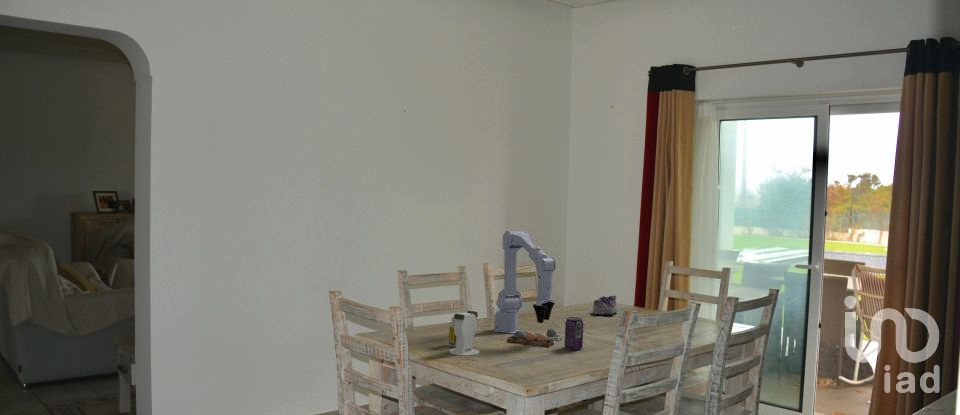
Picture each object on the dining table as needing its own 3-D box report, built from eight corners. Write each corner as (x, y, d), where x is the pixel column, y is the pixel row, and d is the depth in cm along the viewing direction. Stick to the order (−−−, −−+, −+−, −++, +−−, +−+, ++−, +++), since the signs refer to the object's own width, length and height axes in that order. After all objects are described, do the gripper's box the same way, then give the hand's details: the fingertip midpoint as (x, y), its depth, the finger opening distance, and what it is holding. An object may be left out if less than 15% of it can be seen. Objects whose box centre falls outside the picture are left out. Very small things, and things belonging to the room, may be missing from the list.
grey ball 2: (545, 338, 315) (545, 328, 315) (548, 336, 319) (548, 327, 319) (554, 339, 314) (554, 329, 314) (557, 337, 317) (557, 328, 317)
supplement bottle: (460, 343, 301) (461, 315, 301) (467, 347, 296) (468, 318, 295) (446, 344, 298) (447, 316, 298) (453, 348, 293) (454, 319, 292)
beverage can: (584, 347, 302) (585, 317, 302) (580, 351, 296) (581, 320, 295) (566, 345, 305) (567, 316, 304) (562, 349, 298) (563, 318, 298)
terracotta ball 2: (535, 343, 304) (536, 333, 304) (539, 341, 308) (539, 332, 308) (545, 344, 303) (545, 334, 302) (548, 343, 306) (548, 333, 306)
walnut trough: (506, 341, 308) (507, 338, 308) (512, 339, 314) (512, 335, 313) (549, 347, 301) (549, 343, 301) (553, 344, 306) (554, 340, 306)
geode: (597, 309, 397) (601, 291, 397) (619, 315, 393) (622, 296, 393) (588, 314, 378) (592, 294, 378) (611, 319, 374) (615, 299, 374)
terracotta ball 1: (524, 342, 306) (524, 332, 306) (527, 340, 310) (527, 330, 310) (533, 343, 305) (533, 333, 304) (536, 341, 308) (537, 331, 308)
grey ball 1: (512, 340, 308) (512, 330, 308) (515, 339, 312) (516, 329, 312) (521, 341, 307) (522, 332, 306) (525, 340, 310) (525, 330, 310)
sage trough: (513, 338, 314) (513, 335, 314) (522, 334, 325) (522, 330, 324) (554, 343, 307) (554, 340, 307) (562, 339, 317) (562, 335, 317)
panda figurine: (460, 347, 295) (461, 308, 294) (485, 351, 289) (487, 312, 289) (443, 352, 285) (444, 312, 284) (469, 357, 279) (470, 316, 278)
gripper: (548, 290, 296) (547, 325, 297) (559, 286, 310) (558, 319, 310) (531, 288, 299) (530, 323, 300) (543, 284, 312) (541, 317, 313)
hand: (543, 321), depth 305 cm, fingers open, 7 cm apart
